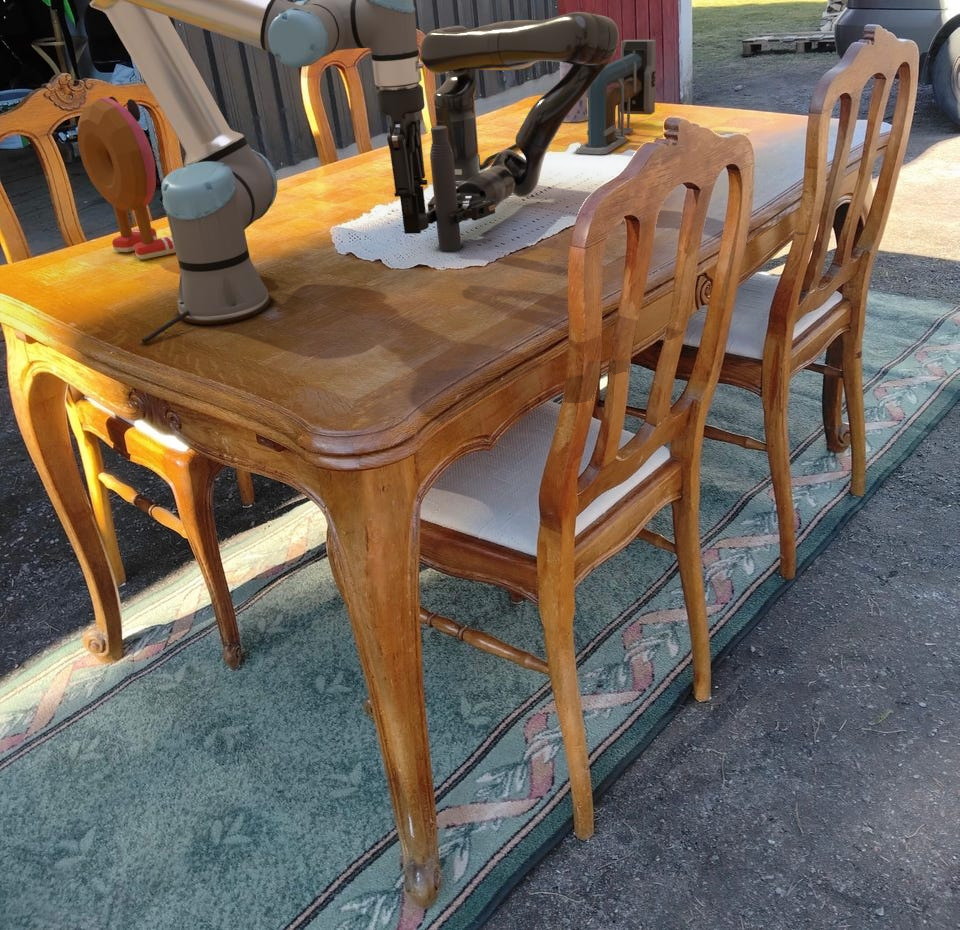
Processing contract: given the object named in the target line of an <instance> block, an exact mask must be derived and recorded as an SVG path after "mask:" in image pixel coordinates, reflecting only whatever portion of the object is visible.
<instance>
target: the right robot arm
mask: <svg viewBox="0 0 960 930" xmlns="http://www.w3.org/2000/svg"><path fill="white" fill-rule="evenodd" d="M619 41H620V33H619V28H618V26H617V24H616V23H615V20H613V19H612V18H610V17H609V16H604V15H600V14H596V13H590V12H583V11H573V12H569V13H565V14H562V15H558V16H554V17H551V18H548V19H547V18H546V19H543V20H532V19H521V20H520V19H519V20H518V19H516V20H506V21H505V20H504V21H498V22H494V23H489V24H486V25H485V24H484V25H481V26H478V27H475V28H472V29H471V28H470V29H468V28H467V27H465V26H463V25H454V26H447V27H442V28H437V29H433V30H431V31H429V32H428V33H427V34H425V36H424V37H423V39H422V41H421V43H420V45H419V58H420V60H421V62H422V63H423V64H424V67H425V69H427V70H429V71H430V72H432V73H433V74H436V75H447V77H446V80H445V81H444V83H443V84H442V85H441V86H440V87H439V88H438V89H436V90H435V92H434V93H433V105H434V114H435V126H447V128H448V130H447V131H448V142H450V145H451V148H452V151H453V157H454V168H455V180H456V191H457V203H458V209H457V210H456V211H454V212H453V213H451V214H450V223H451V225H454V226H455V225H457V224H458V223H459V224H460V223H462V222H467V221H469V220H472V221H475V222H476V221H479V220H481V219H484V218H486V217H489V216H491V215H494V214H496V208H497V207H498V206H499V205H500V204H501V203H502V202H504V201H506V200H507V199H508V198H510V196H512V195H514V196H516V197H518V198H524V197H528V196H529V195H531V194H532V193H533V192H534V191H535V189H536V187H537V186H538V182H539V181H540V176H541V173H542V168H543V163H544V160H545V157H546V154H547V151H548V149H549V148H550V146H551V144H552V142H553V141H554V139H555V137H556V135H557V133H558V131H560V128H561V127H562V125H563V123H565V122H564V120H565V119H566V117H567V116H568V114H569V113H570V111H571V110H572V108H573V107H574V106H575V105H576V103H577V102H578V101H579V99H580V98H581V97H582V96H583V94H584V93H585V92H586V91H587V92H588V88H589V87H590V86H591V84H592V83H593V82H594V80H595V79H596V78H597V77H598V76H599V74H600V73H601V72H602V71H603V69H604V68H605V67H606V66H607V65H608V64H610V63H611V60H612V59H613V57H614V56H615V54H616V52H617V49H618V46H619ZM539 62H556V63H557V62H558V63H560V62H564V63H568V64H572V65H571V67H570V69H569V70H568V71H567V73H566V74H565V75H564V76H563V77H562V78H561V80H560V79H559V80H558V81H557V82H556V83H555V84H554V85H553V86H552V87H550V89H549V90H547V91H546V92H545V93H544V94H543V95H542V96H541V97H540V98H538V99H537V101H536V102H535V103H534V105H532V107H531V109H530V110H529V112H528V113H527V115H526V116H525V118H524V120H523V123H522V124H521V126H520V128H519V130H518V131H517V134H516V135H515V144H512V145H511V146H509V147H507V148H505V149H503V150H501V151H498V152H496V153H494V154H492V155H490V156H488V157H486V158H485V160H484V161H483V163H482V164H481V157H480V156H481V155H480V153H479V142H478V140H479V139H478V128H477V115H476V103H475V100H476V99H475V95H476V91H477V70H480V71H481V70H483V71H484V70H485V71H512V70H513V71H514V70H522V69H526V68H529V67H531V66H533V65H534V64H535V63H539ZM517 148H518V149H519V150H520V152H521V153H522V154H523V156H524V157H523V156H521V155H520V154H518V153H517V152H516V151H514V150H515V149H517ZM492 160H493V161H492ZM491 161H492V163H491V164H490V167H488V169H486V170H484V171H482V172H481V171H480V170H482V169H484V168H486V167H487V165H488V164H489V162H491ZM457 185H458V186H457ZM426 214H427V217H428V224H429V225H432V224H434V223H435V222H436V212H435V202H434V196H432V197H431V198H430V200H429V201H428V203H427V211H426ZM436 223H437V222H436Z"/></svg>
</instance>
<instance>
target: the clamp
mask: <svg viewBox="0 0 960 930" xmlns="http://www.w3.org/2000/svg"><path fill="white" fill-rule="evenodd" d="M656 53H657V40H656V39H624V40H621V42H620V58H618V59H617V60H614V61H611V62H609V63H608V64H607V66H606V67H605V68H604V69H603V71H602V72H601V73H600V74H599V76H598V77H597V78H596V79H595V80H594V82H593V83H592V84H591V86H590V87H589V88H588V89H587V116H588V119H587V131H586V136H587V142H585V143H583V144H581V145H579V146H580V148H578V147H577V148H578V149H577V148H576V149H575V151H574V152H575V153H576V154H585V155H608V154H609V153H611V152H612V151H614V150H615V149H617V148H618V147H620V146H621V145H623V144H625V143H626V142H628V141H629V139H628V138H627V135H631V134H632V133H634V129H633V128H632V127H631V115H653V114H654V113H656V112H655V111H656V62H657V61H656V60H657V59H656V57H657V55H656ZM612 84H615V85H613V86H611V87H609V88H608V89H607V87H608V86H610V85H612ZM616 109H617V110H616ZM616 111H617V124H616ZM625 115H626V127H625Z"/></svg>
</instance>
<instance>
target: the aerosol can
mask: <svg viewBox="0 0 960 930" xmlns="http://www.w3.org/2000/svg"><path fill="white" fill-rule="evenodd" d="M571 65H572V64H568V63H564V62H559V81H560V80H561V78H562V77H563V76H564V75H565V74H566V73H567V71H568V70H569V69H570V67H571ZM584 121H588V90H587V91H586V92H585V93H584V94H583V96H582V97H581V98H580V99H579V101H578V102H577V103H576V105H575V106H574V107H573V108H572V110H571V111H570V113H569V114H568V116H567V117H566V119H565V120H564V122H563V123H580V122H584Z"/></svg>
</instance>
